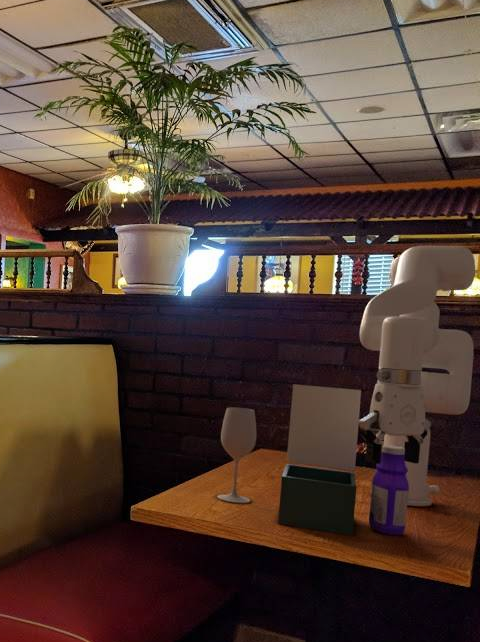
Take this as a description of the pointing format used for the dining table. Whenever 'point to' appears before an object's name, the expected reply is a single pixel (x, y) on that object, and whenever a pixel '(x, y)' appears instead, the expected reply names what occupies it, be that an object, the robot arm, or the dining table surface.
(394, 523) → the bottle
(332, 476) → the dark green open box
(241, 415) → the wineglass
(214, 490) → the dining table surface
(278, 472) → the dining table surface
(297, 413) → the cooler lid
